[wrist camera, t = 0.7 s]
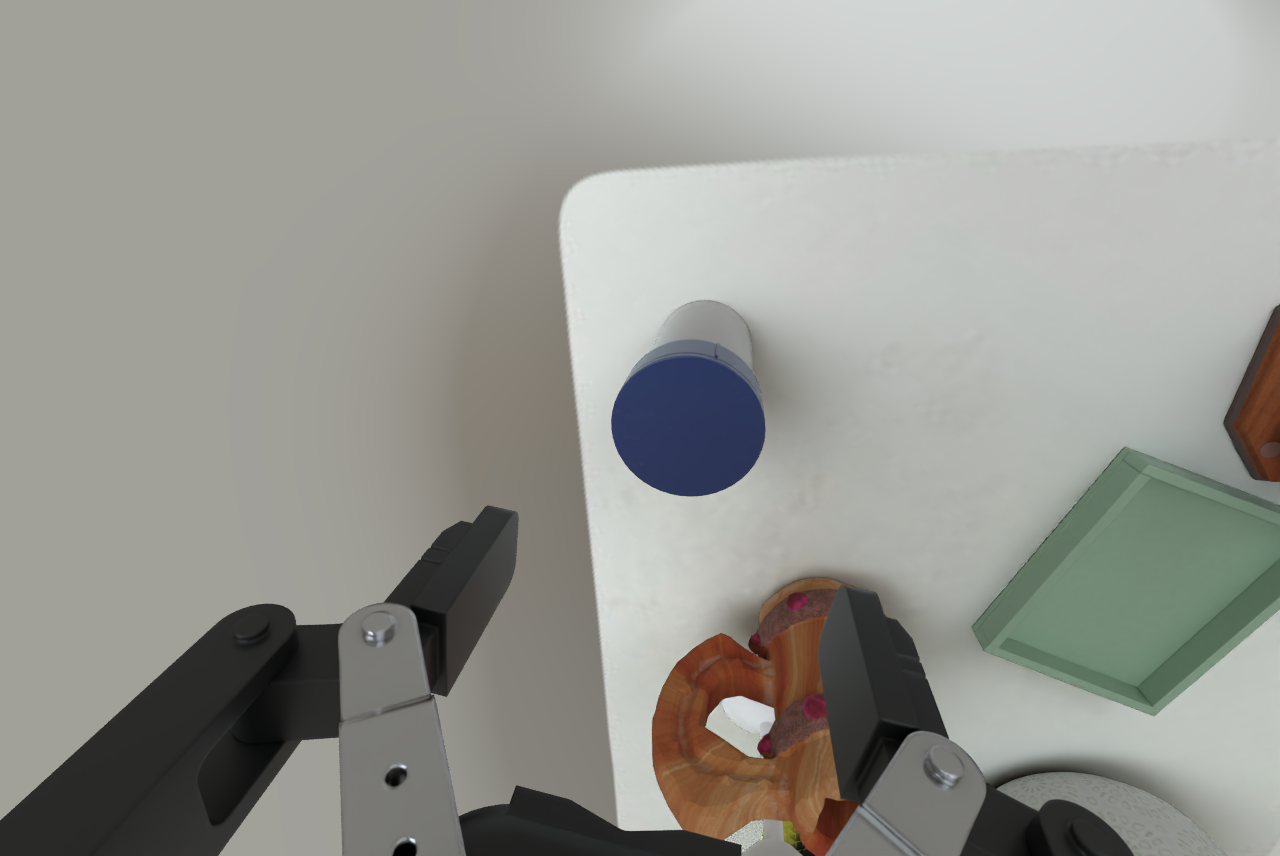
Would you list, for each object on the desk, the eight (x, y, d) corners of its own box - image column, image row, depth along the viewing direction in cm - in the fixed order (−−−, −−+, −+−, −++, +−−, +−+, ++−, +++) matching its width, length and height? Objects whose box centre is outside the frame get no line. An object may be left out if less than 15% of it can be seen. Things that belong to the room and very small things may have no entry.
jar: (677, 286, 30) (646, 339, 20) (766, 320, 30) (779, 390, 20) (646, 370, 33) (605, 456, 23) (729, 402, 33) (724, 501, 23)
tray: (1124, 446, 30) (1149, 463, 28) (1321, 521, 30) (1358, 543, 28) (971, 627, 36) (983, 651, 34) (1133, 689, 36) (1154, 716, 34)
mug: (905, 566, 35) (1008, 811, 22) (885, 662, 38) (963, 926, 25) (673, 548, 37) (635, 759, 24) (673, 640, 41) (640, 871, 27)
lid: (649, 315, 22) (639, 330, 20) (788, 368, 22) (793, 388, 20) (605, 440, 24) (592, 465, 22) (729, 488, 24) (728, 517, 22)
